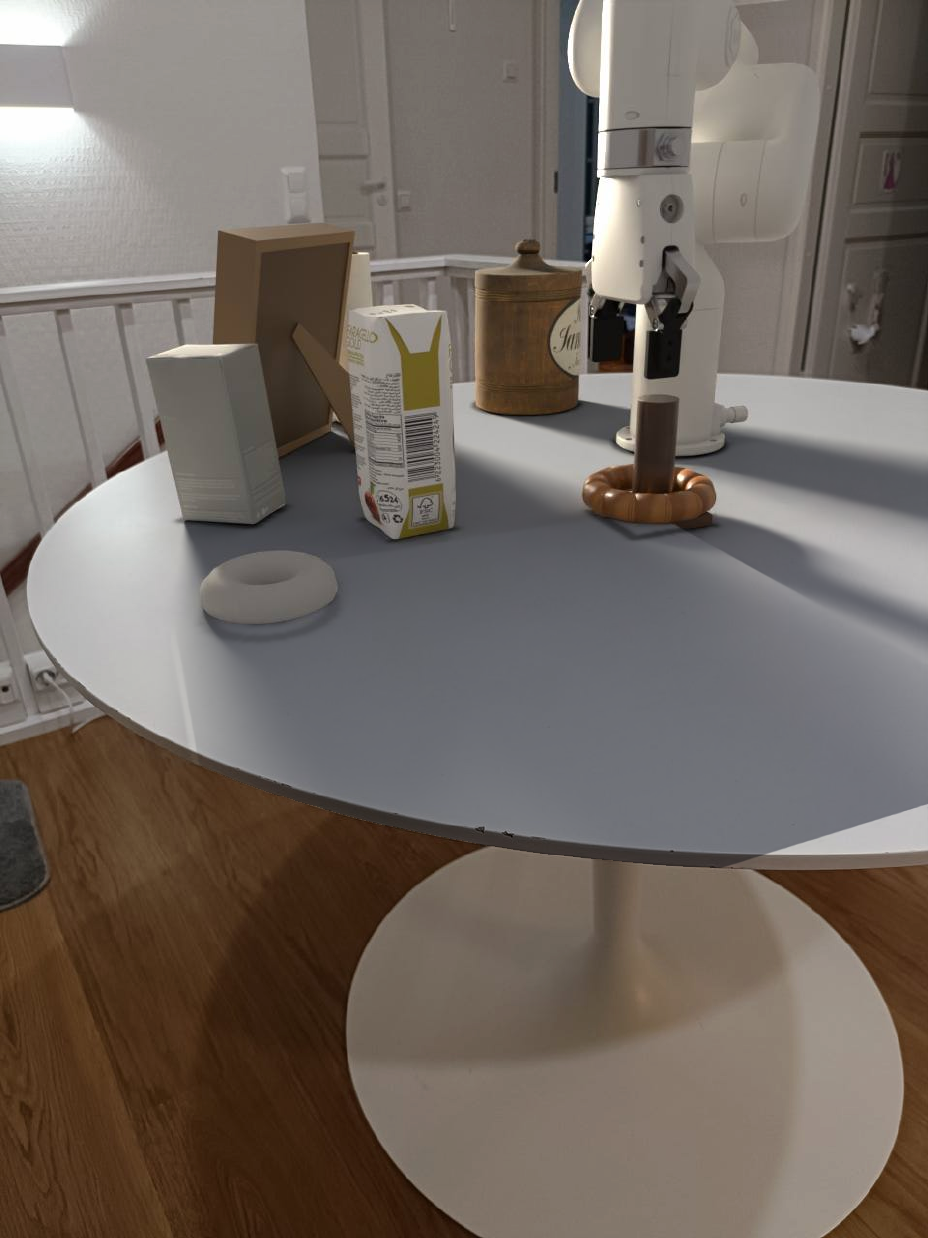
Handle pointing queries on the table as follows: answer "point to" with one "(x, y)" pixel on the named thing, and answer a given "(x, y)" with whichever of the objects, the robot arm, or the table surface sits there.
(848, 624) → the table surface
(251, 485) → the cosmetic box
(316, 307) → the photo frame
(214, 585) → the donut
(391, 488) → the juice carton
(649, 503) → the ring
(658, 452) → the post
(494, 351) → the wooden container
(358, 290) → the paper towel roll
